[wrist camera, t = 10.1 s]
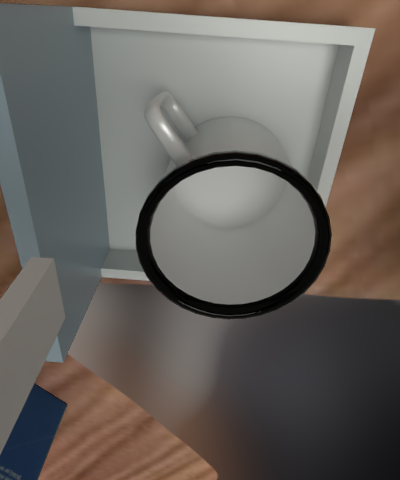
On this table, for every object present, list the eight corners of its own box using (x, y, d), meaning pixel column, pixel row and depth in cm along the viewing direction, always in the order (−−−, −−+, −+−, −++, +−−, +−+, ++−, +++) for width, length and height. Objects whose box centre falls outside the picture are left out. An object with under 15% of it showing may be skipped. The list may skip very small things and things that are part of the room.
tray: (101, 249, 30) (45, 361, 20) (76, 6, 21) (-47, 1, 11) (293, 264, 30) (328, 383, 20) (352, 26, 21) (467, 37, 11)
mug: (320, 195, 25) (364, 274, 18) (208, 254, 29) (204, 343, 21) (231, 33, 20) (237, 46, 13) (107, 127, 24) (53, 182, 16)
